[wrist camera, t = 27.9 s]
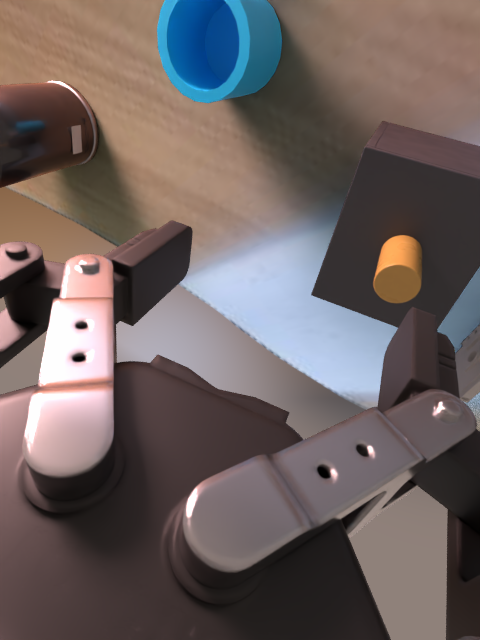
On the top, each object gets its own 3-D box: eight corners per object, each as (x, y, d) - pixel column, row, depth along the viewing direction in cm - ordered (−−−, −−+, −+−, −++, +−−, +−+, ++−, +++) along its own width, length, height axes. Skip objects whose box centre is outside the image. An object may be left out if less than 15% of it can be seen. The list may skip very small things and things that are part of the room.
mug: (268, 106, 37) (237, 115, 31) (197, 82, 39) (153, 86, 32) (308, -60, 30) (277, -91, 23) (217, -83, 31) (165, -118, 25)
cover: (338, 239, 42) (295, 327, 28) (382, 120, 34) (353, 162, 21) (429, 269, 40) (430, 380, 26) (498, 151, 32) (550, 219, 19)
